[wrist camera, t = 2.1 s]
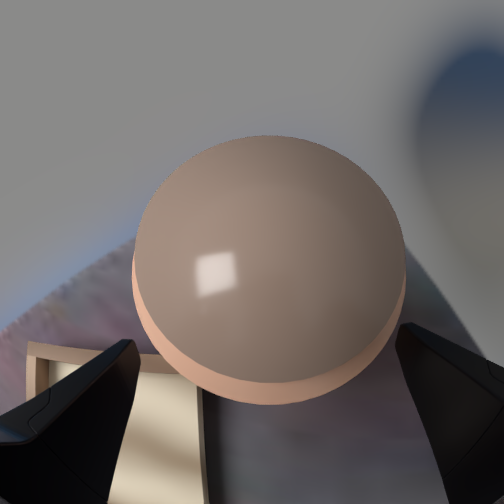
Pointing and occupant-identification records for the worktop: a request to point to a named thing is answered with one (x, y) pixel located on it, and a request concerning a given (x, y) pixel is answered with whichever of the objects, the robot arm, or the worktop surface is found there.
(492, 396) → the robot arm
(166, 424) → the dock
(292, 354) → the canister
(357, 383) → the worktop surface
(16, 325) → the worktop surface
